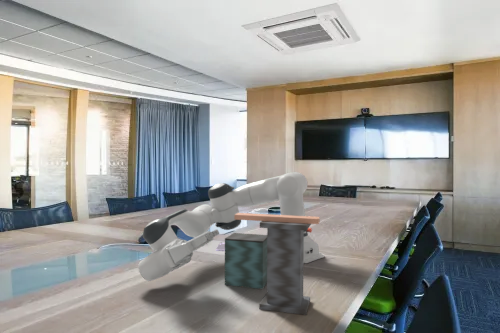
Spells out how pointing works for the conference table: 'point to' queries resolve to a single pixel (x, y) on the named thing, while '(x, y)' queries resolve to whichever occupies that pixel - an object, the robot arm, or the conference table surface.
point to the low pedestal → (246, 260)
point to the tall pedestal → (285, 268)
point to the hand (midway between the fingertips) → (212, 234)
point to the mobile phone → (221, 247)
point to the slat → (277, 218)
